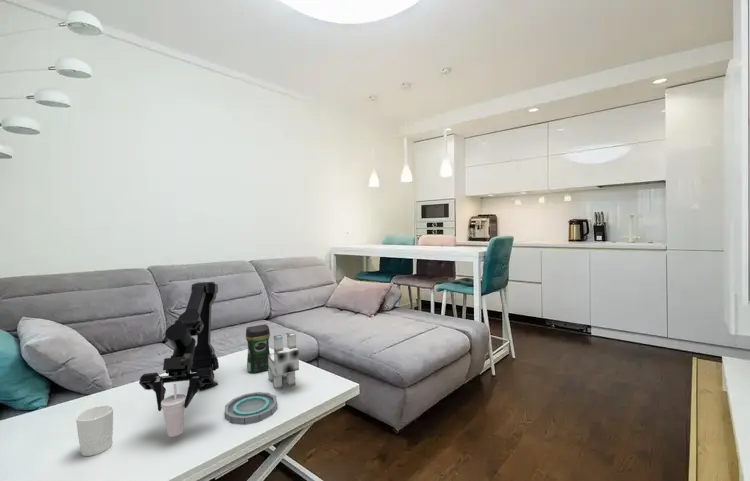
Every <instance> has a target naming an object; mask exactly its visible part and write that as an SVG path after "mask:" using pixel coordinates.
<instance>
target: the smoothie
mask: <svg viewBox="0 0 750 481" xmlns="http://www.w3.org/2000/svg"><path fill="white" fill-rule="evenodd" d="M173 393H174V394H172V395H169V396H167V397H164V399H163V400H162V401H161V407H162V412H163V417H164V422H165V426H166V431H167V436H168V437H169V438H170V437H177V436H179V435H181V434H182V433H183V431H184V424H185V423H184V421H185V409H186V408H185V407H184V405H185V399H186V396H187V394H181V393H179V394H177V384H173Z"/></svg>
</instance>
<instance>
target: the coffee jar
mask: <svg viewBox="0 0 750 481" xmlns="http://www.w3.org/2000/svg"><path fill="white" fill-rule="evenodd" d="M270 336H271V331H270V328H269V326H268V324H266V323H264V324H259V325H258V324H257V325H252V326H247V327H246V330H245V339H246V342H247V356H246V358H247V359H246V360H247V361H246V369H247V372H249V373H251V374H255V373H261V372H264V371H268V354H271V353H270V345H269V344H270V343H269V340H270Z"/></svg>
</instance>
